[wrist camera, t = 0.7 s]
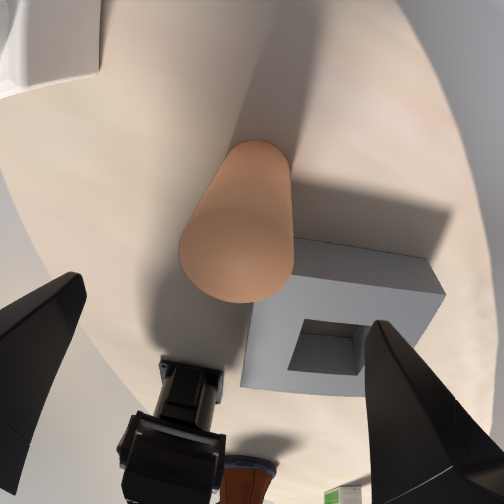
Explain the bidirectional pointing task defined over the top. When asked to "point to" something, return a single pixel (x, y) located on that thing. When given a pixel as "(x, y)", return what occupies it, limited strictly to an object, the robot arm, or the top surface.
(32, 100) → the top surface
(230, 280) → the peg
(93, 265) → the top surface
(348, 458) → the top surface
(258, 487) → the mug
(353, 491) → the skincare box
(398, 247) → the top surface
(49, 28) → the medicine bottle
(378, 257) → the socket block
